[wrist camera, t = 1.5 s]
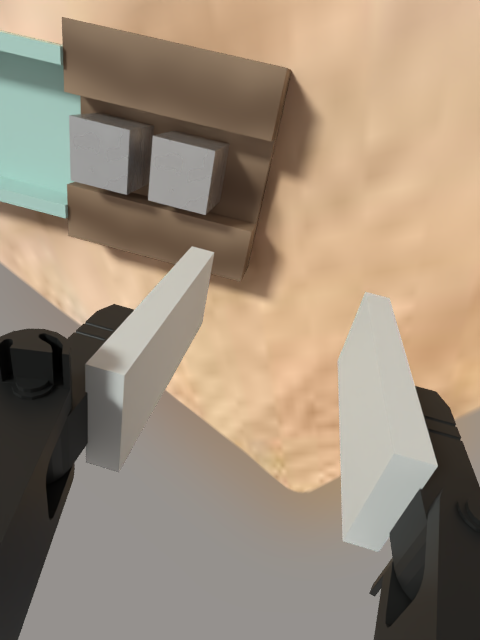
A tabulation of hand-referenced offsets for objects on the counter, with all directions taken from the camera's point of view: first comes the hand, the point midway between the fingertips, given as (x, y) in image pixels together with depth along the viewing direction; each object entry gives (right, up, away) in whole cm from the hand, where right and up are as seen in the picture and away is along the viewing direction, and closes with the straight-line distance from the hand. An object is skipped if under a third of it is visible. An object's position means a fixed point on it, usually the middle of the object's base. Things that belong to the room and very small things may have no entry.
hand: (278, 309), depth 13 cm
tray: (-19, +15, +18) cm, 30 cm away
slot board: (-6, +12, +17) cm, 21 cm away
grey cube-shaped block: (-10, +12, +16) cm, 22 cm away
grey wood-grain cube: (-4, +11, +16) cm, 19 cm away
